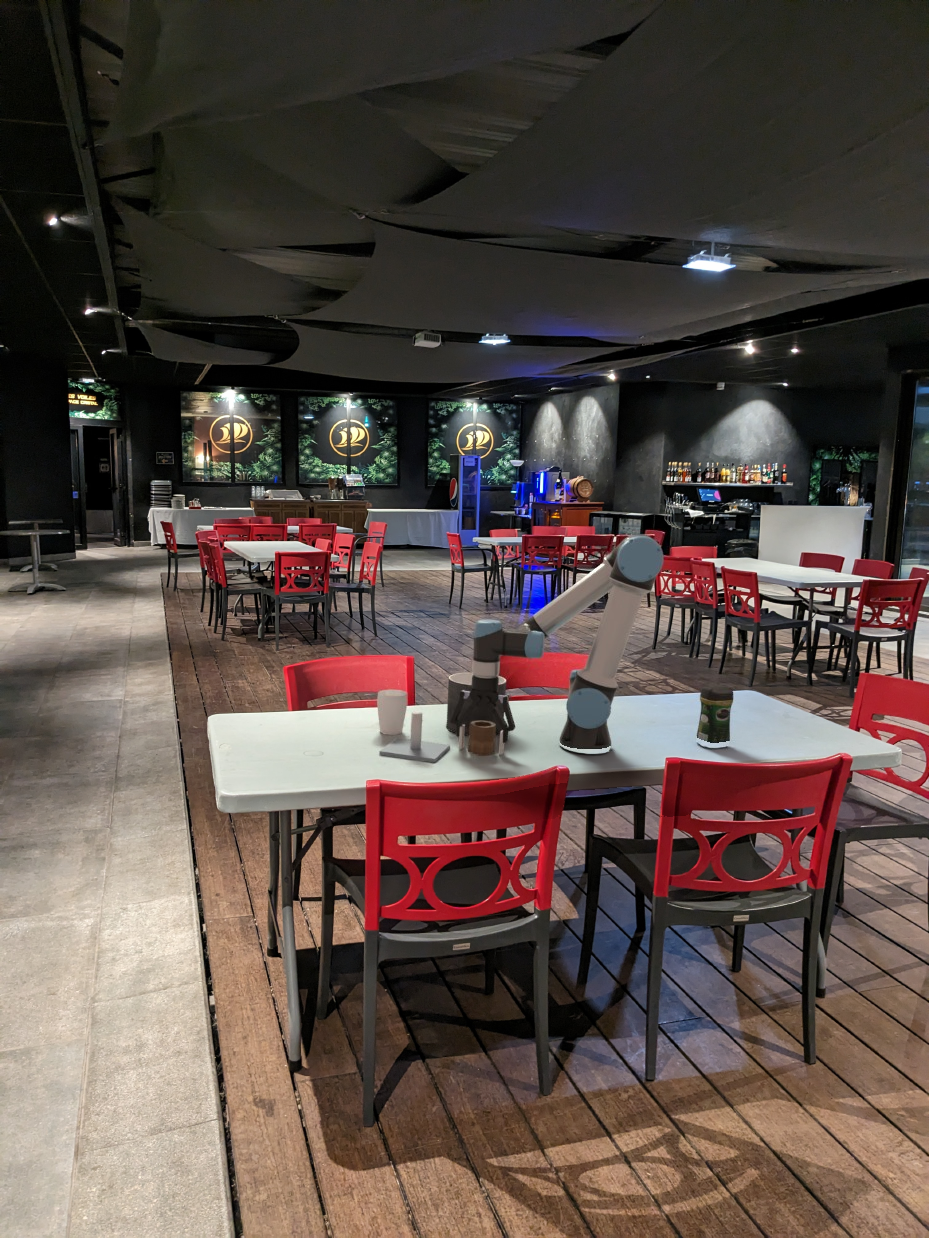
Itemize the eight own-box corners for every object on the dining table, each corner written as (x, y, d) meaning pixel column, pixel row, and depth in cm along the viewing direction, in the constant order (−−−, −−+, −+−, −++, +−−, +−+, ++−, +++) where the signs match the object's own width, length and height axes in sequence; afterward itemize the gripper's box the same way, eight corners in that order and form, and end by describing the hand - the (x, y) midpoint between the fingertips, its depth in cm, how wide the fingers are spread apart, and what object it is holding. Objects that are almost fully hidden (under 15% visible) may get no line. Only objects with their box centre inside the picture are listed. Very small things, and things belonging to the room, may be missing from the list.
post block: (450, 748, 243) (451, 710, 241) (434, 762, 230) (436, 722, 228) (397, 740, 247) (398, 704, 246) (379, 754, 234) (380, 715, 232)
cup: (401, 737, 251) (403, 697, 249) (372, 734, 253) (373, 694, 251) (409, 729, 260) (411, 691, 258) (381, 726, 262) (382, 688, 260)
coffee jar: (717, 740, 264) (722, 682, 262) (733, 748, 257) (739, 688, 254) (690, 742, 261) (696, 683, 258) (706, 750, 254) (712, 689, 251)
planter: (437, 731, 260) (439, 680, 257) (459, 717, 276) (461, 670, 274) (491, 740, 253) (494, 688, 251) (511, 725, 270) (514, 677, 267)
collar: (496, 749, 244) (497, 722, 243) (490, 756, 237) (491, 728, 236) (472, 746, 246) (474, 719, 245) (466, 753, 239) (467, 725, 238)
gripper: (529, 677, 239) (524, 752, 242) (449, 668, 245) (445, 741, 248) (523, 682, 232) (518, 760, 235) (441, 673, 238) (437, 748, 241)
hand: (481, 750), depth 242 cm, fingers open, 11 cm apart
